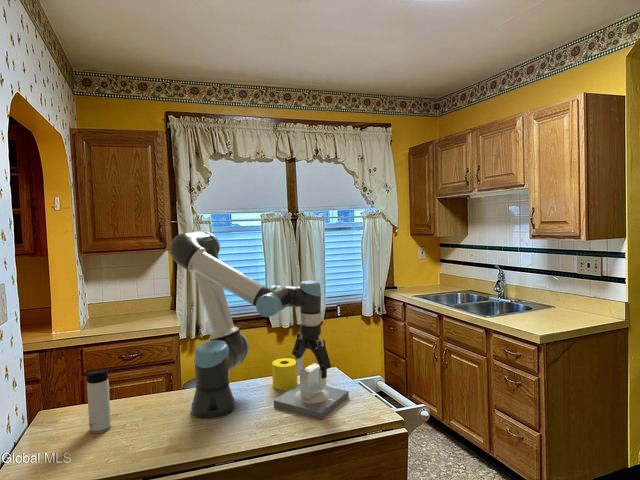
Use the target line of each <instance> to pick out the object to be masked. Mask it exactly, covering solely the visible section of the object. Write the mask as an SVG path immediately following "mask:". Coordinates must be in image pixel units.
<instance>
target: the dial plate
mask: <svg viewBox="0 0 640 480" xmlns="http://www.w3.org/2000/svg"><path fill="white" fill-rule="evenodd" d="M349 393H350V391H349V390H346V389H341V388H337V387H332V386H328V385H326V386H324V387H322V391H321V392H320V393H319V394H317V395H316V396H314V397H313V398H312V399H310V400H308V399H304V398H301V397H300V383H298V384H297V386H295V387H294V388H292V389H290V390H287V391H286V392H284V393H283V394H281V395H280V396H278V397H276V398H275V399H273V407H274V408H276V409H280V410H285V411H288V412H292V413H295V414H298V415H303V416H306V417H309V418H313V419H316V420H320V421H321V420H323V419H325V418H326V417H327V416H328V415H329V414H330V413H332V412H333V411H334V410H335V409H337V408H338V407H339V406H340V405H341V404H343V403H344V402H345V401H347V400H348V399H349V398H350V397H349Z"/></svg>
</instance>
